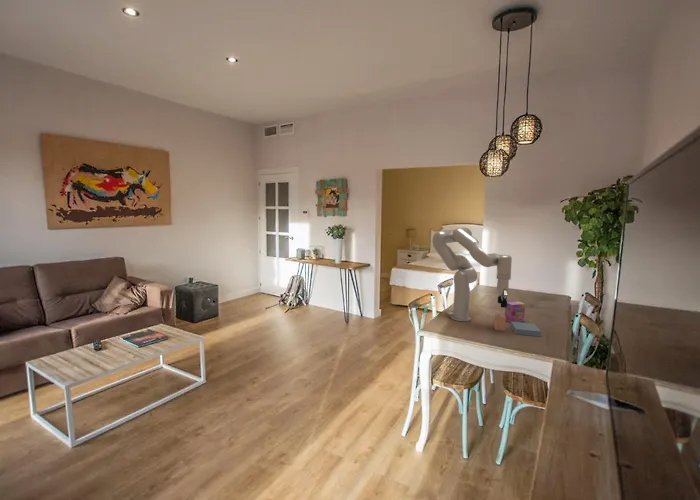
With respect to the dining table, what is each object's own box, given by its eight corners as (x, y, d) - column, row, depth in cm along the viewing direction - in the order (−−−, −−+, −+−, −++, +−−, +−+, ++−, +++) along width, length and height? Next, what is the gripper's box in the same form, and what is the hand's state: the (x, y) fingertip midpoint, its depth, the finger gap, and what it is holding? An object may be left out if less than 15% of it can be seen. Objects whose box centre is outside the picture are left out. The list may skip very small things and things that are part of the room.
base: (515, 334, 205) (515, 329, 205) (510, 326, 219) (510, 321, 218) (540, 336, 202) (541, 331, 202) (533, 328, 216) (534, 323, 215)
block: (495, 329, 212) (496, 316, 211) (494, 327, 216) (495, 314, 215) (504, 330, 211) (505, 317, 210) (503, 328, 215) (504, 314, 214)
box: (510, 323, 225) (511, 304, 224) (504, 320, 231) (505, 302, 229) (524, 321, 228) (525, 303, 226) (517, 319, 233) (519, 301, 232)
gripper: (494, 273, 219) (492, 301, 220) (499, 278, 202) (497, 308, 204) (507, 274, 217) (506, 302, 219) (513, 279, 200) (512, 309, 202)
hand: (502, 305), depth 211 cm, fingers open, 9 cm apart
